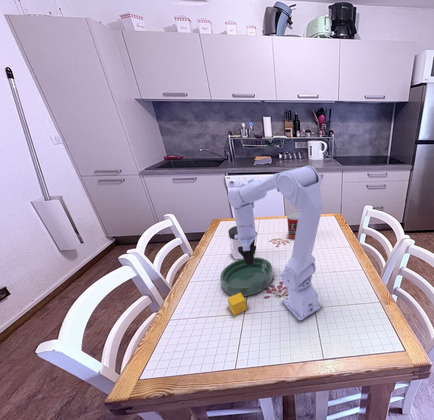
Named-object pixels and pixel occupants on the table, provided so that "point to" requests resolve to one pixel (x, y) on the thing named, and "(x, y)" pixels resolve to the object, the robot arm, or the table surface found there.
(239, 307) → the yellow cube
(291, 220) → the canned food
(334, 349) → the table surface
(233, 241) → the jar
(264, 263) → the bowl
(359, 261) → the table surface
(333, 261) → the table surface
